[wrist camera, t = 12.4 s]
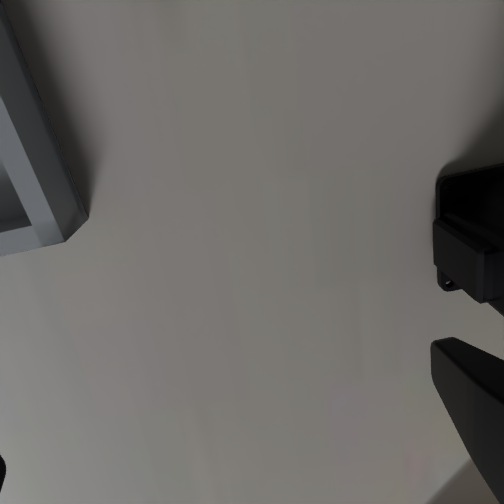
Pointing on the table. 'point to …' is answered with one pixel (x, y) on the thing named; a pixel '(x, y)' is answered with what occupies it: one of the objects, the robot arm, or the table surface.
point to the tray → (30, 162)
